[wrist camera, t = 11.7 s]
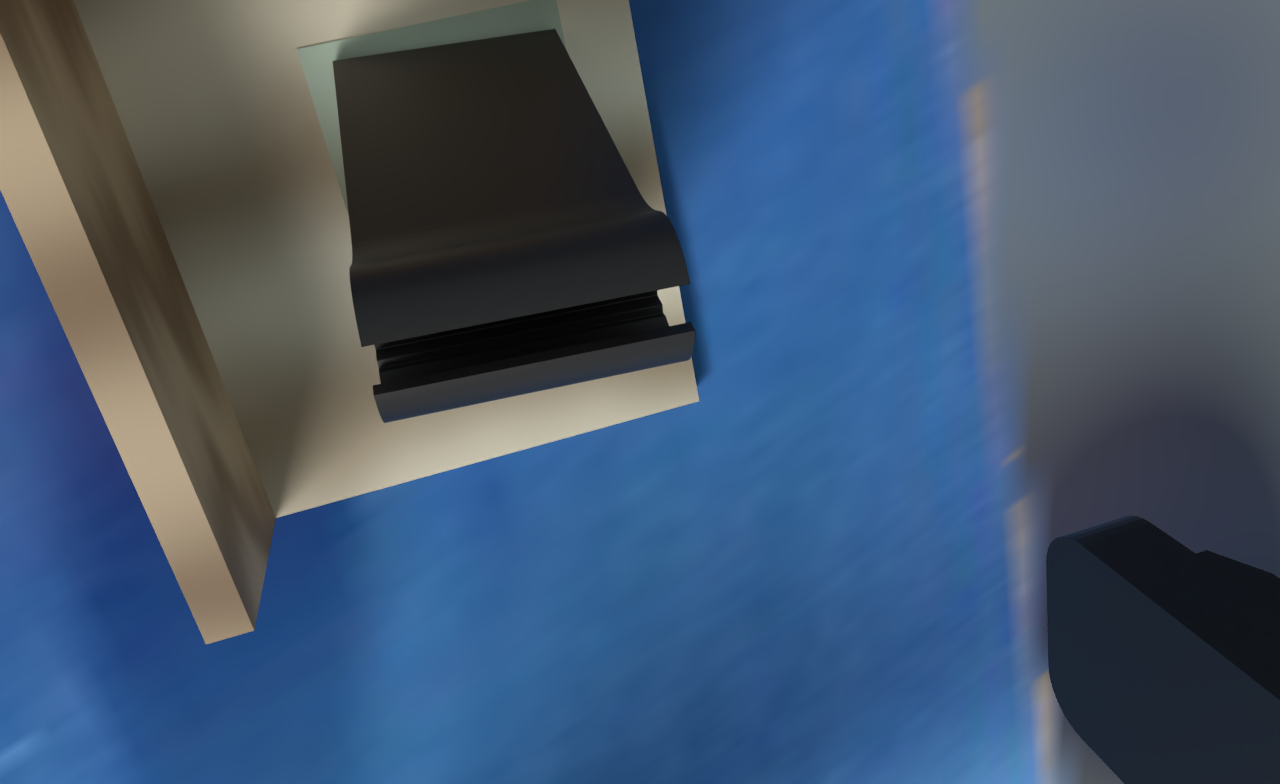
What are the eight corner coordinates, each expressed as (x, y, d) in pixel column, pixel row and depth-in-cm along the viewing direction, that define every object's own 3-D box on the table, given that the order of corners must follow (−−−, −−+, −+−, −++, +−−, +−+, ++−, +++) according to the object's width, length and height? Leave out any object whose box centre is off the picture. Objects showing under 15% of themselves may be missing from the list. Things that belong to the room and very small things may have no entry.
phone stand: (332, 57, 26) (301, 106, 16) (554, 27, 28) (669, 53, 17) (403, 370, 30) (417, 585, 19) (597, 333, 31) (714, 517, 20)
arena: (692, 392, 34) (762, 482, 27) (239, 516, 31) (206, 644, 25) (582, -222, 26) (644, -286, 20) (-19, -116, 24) (-154, -151, 18)
